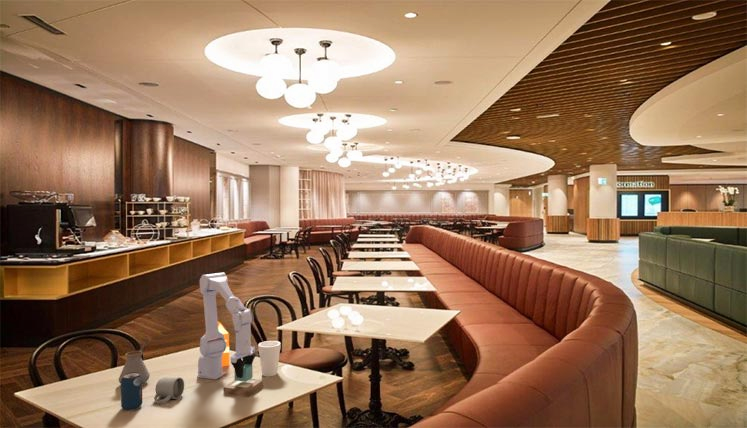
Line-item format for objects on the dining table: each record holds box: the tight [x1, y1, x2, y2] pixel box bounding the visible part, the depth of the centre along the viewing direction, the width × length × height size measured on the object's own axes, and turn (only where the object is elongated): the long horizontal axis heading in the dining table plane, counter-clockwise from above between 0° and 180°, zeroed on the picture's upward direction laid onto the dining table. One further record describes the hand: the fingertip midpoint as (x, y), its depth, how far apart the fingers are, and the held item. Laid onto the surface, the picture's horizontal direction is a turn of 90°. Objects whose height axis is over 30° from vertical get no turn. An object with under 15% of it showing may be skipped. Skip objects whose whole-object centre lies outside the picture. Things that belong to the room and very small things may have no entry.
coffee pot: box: [118, 337, 151, 386], centre depth 203 cm, size 21×12×15 cm, turn 5°
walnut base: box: [223, 378, 264, 397], centre depth 192 cm, size 11×11×3 cm
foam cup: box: [257, 340, 282, 377], centre depth 210 cm, size 10×9×13 cm
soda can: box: [120, 372, 143, 412], centre depth 176 cm, size 7×7×12 cm
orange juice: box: [211, 321, 230, 368], centre depth 222 cm, size 8×9×20 cm
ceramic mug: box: [153, 376, 185, 405], centre depth 184 cm, size 11×8×8 cm
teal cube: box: [234, 364, 254, 382], centre depth 192 cm, size 5×5×5 cm
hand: (243, 375), depth 192 cm, fingers closed on teal cube, 5 cm apart
